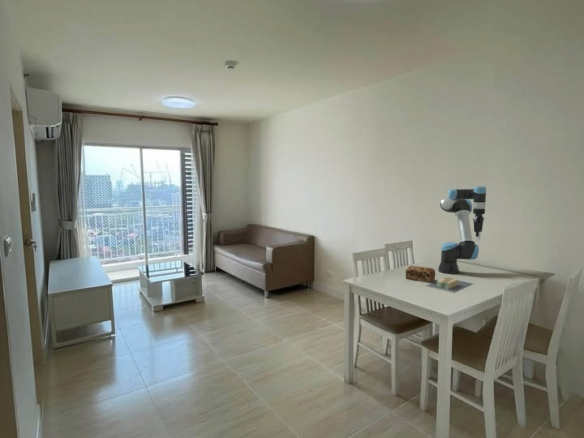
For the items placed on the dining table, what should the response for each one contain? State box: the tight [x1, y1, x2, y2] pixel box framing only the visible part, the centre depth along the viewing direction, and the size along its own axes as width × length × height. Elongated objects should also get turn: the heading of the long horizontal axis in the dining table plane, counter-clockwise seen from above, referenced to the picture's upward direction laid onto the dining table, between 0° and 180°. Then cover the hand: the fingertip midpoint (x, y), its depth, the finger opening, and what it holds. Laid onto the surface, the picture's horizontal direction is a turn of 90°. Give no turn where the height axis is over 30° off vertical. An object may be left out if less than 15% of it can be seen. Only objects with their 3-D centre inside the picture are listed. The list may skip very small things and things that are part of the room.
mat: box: [425, 280, 473, 294], centre depth 236 cm, size 20×28×1 cm
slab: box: [436, 276, 459, 289], centre depth 233 cm, size 8×4×14 cm
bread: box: [404, 265, 436, 284], centre depth 250 cm, size 19×11×10 cm, turn 44°
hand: (477, 240), depth 243 cm, fingers closed
